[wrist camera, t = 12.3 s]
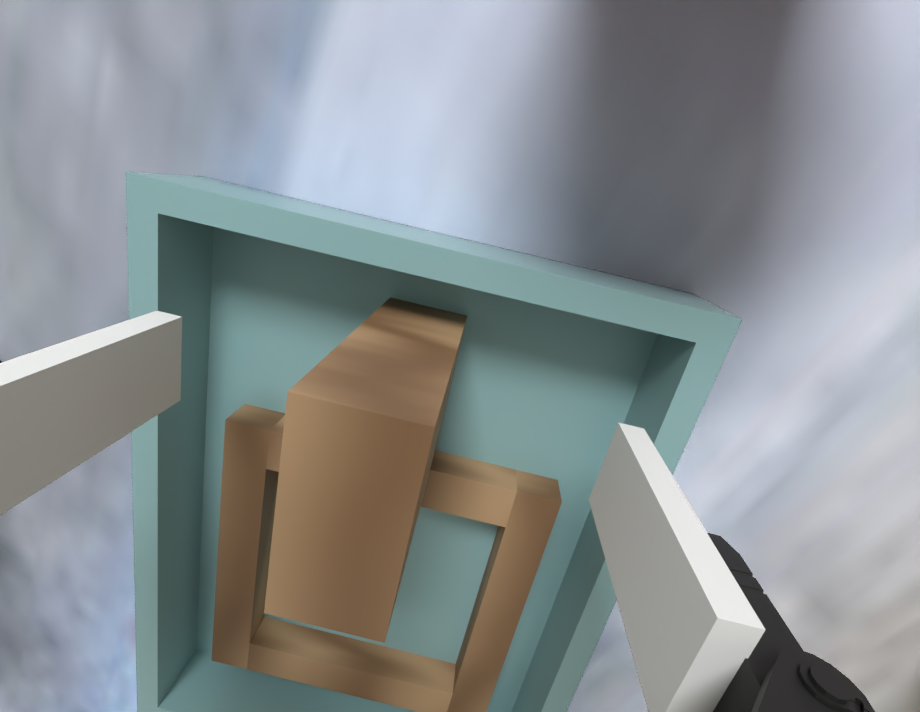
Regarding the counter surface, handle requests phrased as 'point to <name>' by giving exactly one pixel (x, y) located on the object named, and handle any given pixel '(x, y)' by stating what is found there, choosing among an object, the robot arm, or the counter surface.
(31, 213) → the counter surface
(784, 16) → the counter surface
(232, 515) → the ring
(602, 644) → the counter surface
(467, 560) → the tray
